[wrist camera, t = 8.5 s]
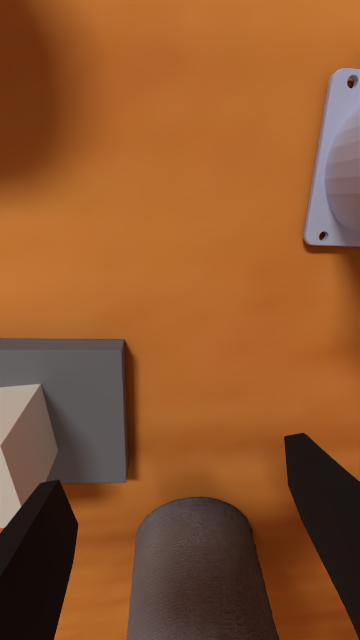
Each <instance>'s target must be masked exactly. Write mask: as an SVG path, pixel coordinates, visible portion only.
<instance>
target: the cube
mask: <svg viewBox="0 0 360 640" xmlns="http://www.w3.org/2000/svg"><path fill="white" fill-rule="evenodd" d="M57 452H58V448H57V444H56V440H55V437H54V433H53V429H52V425H51V421H50V418H49V414H48V410H47V406H46V402H45V399H44V395H43V391H42V387H41V384H34V385H22V386H10V387H0V528H5V527H6V526H7V524H8V523H9V522H10V521H11V519H12V518H13V517H14V515H15V514H16V513H17V512H18V510H19V509H20V508H21V506H22V505H23V504H24V503H25V501H26V500H27V499H28V497H29V496H30V495H31V494H32V492H33V491H34V490H35V489H36V487H37V486H38V485H39V484H40V483H43V482H46V479H47V477H48V474H49V472H50V470H51V467H52V465H53V462H54V460H55V457H56V455H57Z"/></svg>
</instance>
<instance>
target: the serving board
mask: <svg viewBox="0 0 360 640" xmlns="http://www.w3.org/2000/svg"><path fill="white" fill-rule="evenodd" d="M34 384H41V387H42V391H43V395H44V399H45V402H46V406H47V410H48V414H49V418H50V421H51V425H52V429H53V433H54V437H55V440H56V444H57V448H58V452H57V455H56V457H55V460H54V462H53V465H52V467H51V470H50V472H49V474H48V477H47V479H46V482H48V481H53V480H58V479H59V481H60V483H61V484H75V483H126V480H127V473H128V438H127V408H126V379H125V349H124V339H2V338H0V387H10V386H22V385H34Z"/></svg>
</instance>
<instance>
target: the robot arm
mask: <svg viewBox="0 0 360 640" xmlns="http://www.w3.org/2000/svg"><path fill="white" fill-rule="evenodd" d="M348 78H352V80H353V81H354V85H353V87H352V88H349V87H348V85H347V80H348ZM323 231H324V233H325V237H324V239H322V240H320V239H319V235H320V233H321V232H323ZM303 239H304V241H305V242H306V243H307V244H309V245H319V246H358V247H360V69H348V68H343V69H339V70H338V71H336V72H335V73H333V74H332V76H331V77H330V79H329V82H328V87H327V93H326V99H325V105H324V112H323V118H322V124H321V130H320V136H319V142H318V148H317V154H316V160H315V166H314V172H313V178H312V184H311V190H310V196H309V203H308V209H307V215H306V221H305V227H304V233H303ZM284 441H285V453H286V465H287V477H288V486H289V488H290V491H291V494H292V496H293V499H294V502H295V504H296V507H297V509H298V512H299V515H300V517H301V520H302V522H303V524H304V526H305V528H306V530H307V532H308V534H309V536H310V538H311V540H312V542H313V544H314V546H315V548H316V550H317V552H318V554H319V556H320V558H321V560H322V562H323V564H324V566H325V568H326V570H327V572H328V574H329V576H330V578H331V580H332V582H333V584H334V586H335V588H336V590H337V592H338V594H339V596H340V598H341V600H342V602H343V604H344V606H345V608H346V611H347V613H348V615H349V617H350V619H351V621H352V624H353V626H354V628H355V631H356V633H357V635H358V638H359V640H360V481H358V480H357V479H356V478H355V477H353V476H352V475H351V474H350V473H349V472H347V471H346V470H345V469H344V468H343V467H342V466H340V465H339V464H338V463H337V462H336V461H335V460H334V459H332V458H331V457H330V456H329V455H328V454H327V453H326V452H325V451H323V450H322V449H321V448H320V447H319V446H318V445H317V444H316V443H315V442H314V441H313V440H312V439H310V438H309V437H308V436H307V435H306V434H304V433H300V434H294V435H289V436H284ZM77 530H78V523H77V520H76V518H75V516H74V513H73V511H72V509H71V506H70V504H69V502H68V499H67V497H66V495H65V492H64V490H63V488H62V485H61V483H60V481H59V479H58V480H53V481H48V482H43V483H40V484H39V485H38V486H37V487H36V489H35V490H34V491H33V492H32V494H31V495H30V496H29V497H28V499H27V500H26V501H25V503H24V504H23V505H22V506H21V508H20V509H19V510H18V512H17V513H16V514H15V515H14V517H13V518H12V519H11V521H10V522H9V523H8V524H7V526H6V527H5V528H4V529H3V531H2V532H1V533H0V640H54V637H55V633H56V629H57V625H58V621H59V617H60V613H61V609H62V605H63V601H64V597H65V593H66V589H67V585H68V581H69V577H70V573H71V569H72V564H73V559H74V553H75V546H76V538H77Z"/></svg>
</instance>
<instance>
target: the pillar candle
mask: <svg viewBox="0 0 360 640" xmlns="http://www.w3.org/2000/svg"><path fill="white" fill-rule="evenodd" d="M127 640H279V636H278V634H277V631H276V627H275V623H274V620H273V617H272V610H271V608H270V604H269V600H268V596H267V593H266V589H265V583H264V579H263V574H262V570H261V567H260V564H259V561H258V555H257V552H256V546H255V544H254V542H253V536H252V529H251V528H250V527H249V524H248V520H247V518H246V517H245V516H244V515H243V514H242V513H241V512H240V511H239V510H238V509H236V508H235V507H233V506H232V505H230V504H228V503H225V502H222V501H220V500H217V499H213V498H202V497H198V498H185V499H180V500H176V501H173V502H170V503H167V504H165V505H163V506H161V507H159V508H157V509H156V510H154V511H153V512H152V513H151V514H150V515H148V516H147V517H146V518H145V519H144V520H143V522H142V524H141V525H140V527H139V529H138V532H137V537H136V542H135V556H134V566H133V574H132V587H131V597H130V608H129V619H128V631H127Z"/></svg>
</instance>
